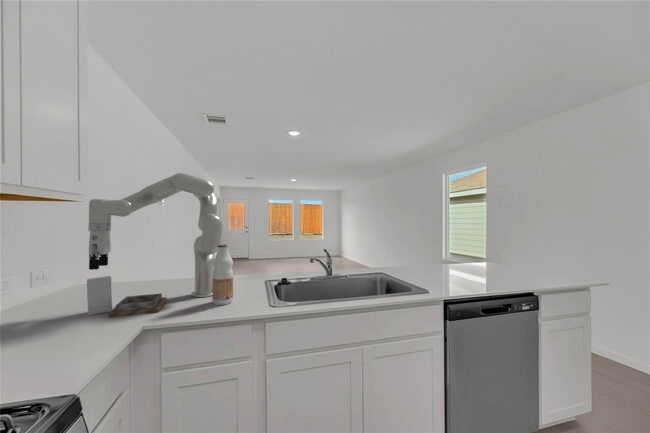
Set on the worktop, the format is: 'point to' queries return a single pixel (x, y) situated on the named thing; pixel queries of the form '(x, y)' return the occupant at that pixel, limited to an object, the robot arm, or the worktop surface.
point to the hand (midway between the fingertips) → (98, 267)
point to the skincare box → (99, 295)
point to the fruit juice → (222, 277)
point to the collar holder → (139, 305)
